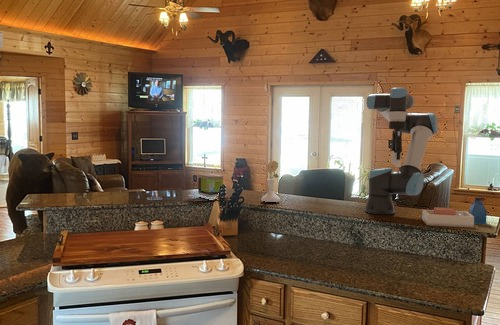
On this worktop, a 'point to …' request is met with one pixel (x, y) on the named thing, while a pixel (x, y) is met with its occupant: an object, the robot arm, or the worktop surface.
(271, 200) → the flower in vase
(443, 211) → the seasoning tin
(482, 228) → the worktop surface
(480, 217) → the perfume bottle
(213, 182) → the tea box
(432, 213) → the tray
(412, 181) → the robot arm
